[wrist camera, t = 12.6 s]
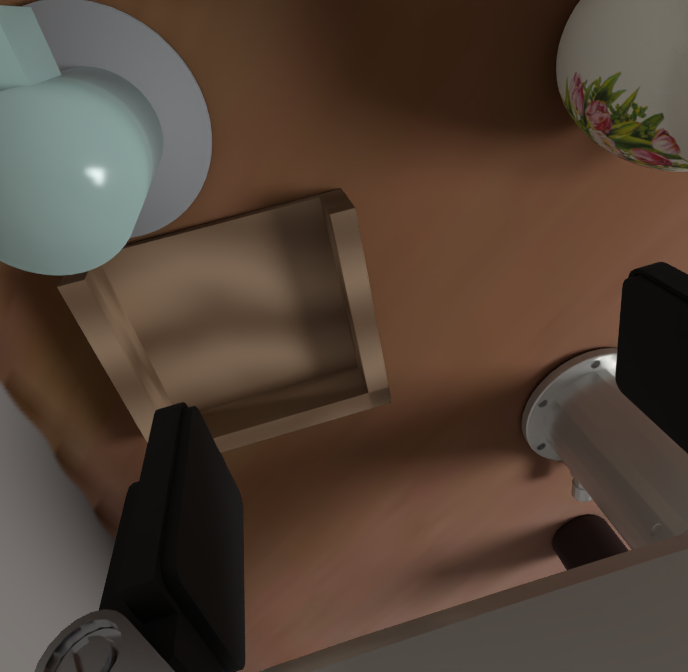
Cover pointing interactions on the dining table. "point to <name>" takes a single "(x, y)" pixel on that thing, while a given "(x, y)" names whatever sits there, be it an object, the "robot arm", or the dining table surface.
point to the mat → (155, 84)
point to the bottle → (586, 542)
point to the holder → (240, 321)
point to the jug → (68, 155)
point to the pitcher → (629, 78)
